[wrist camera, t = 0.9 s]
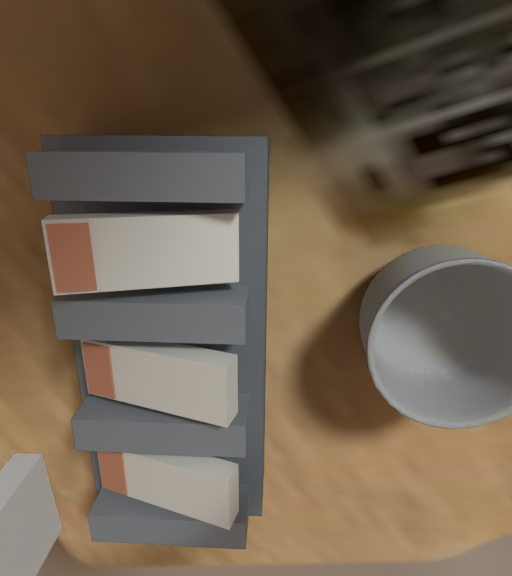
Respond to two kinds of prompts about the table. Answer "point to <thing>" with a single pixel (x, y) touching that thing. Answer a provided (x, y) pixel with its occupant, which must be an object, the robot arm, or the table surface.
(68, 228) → the rocker
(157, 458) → the rocker
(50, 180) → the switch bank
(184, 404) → the block
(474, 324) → the teacup
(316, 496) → the table surface
